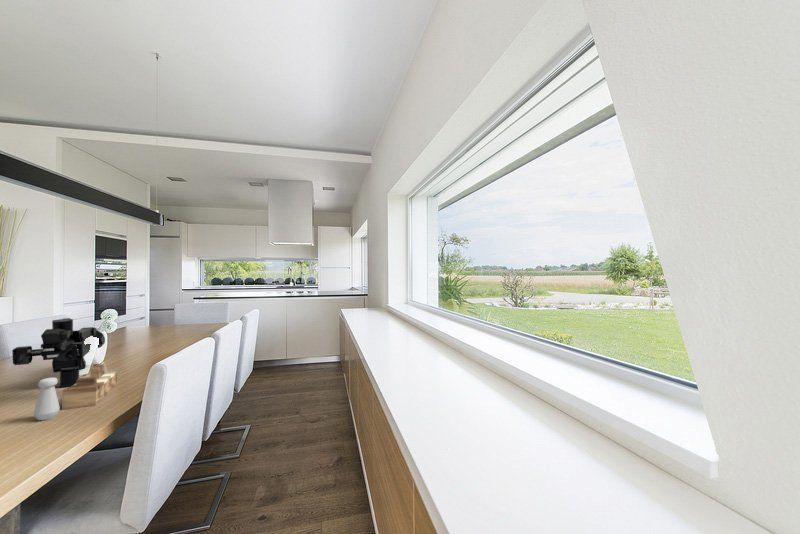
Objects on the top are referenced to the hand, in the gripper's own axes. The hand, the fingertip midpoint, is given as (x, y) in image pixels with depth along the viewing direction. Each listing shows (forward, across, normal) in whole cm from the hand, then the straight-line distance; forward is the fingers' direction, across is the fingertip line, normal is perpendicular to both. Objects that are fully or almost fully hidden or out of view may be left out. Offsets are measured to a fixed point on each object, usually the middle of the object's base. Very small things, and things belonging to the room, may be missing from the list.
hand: (38, 361), depth 112 cm
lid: (-7, +13, +14) cm, 20 cm away
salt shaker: (+12, +6, +16) cm, 21 cm away
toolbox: (-5, +12, +17) cm, 22 cm away
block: (0, +12, +11) cm, 16 cm away
